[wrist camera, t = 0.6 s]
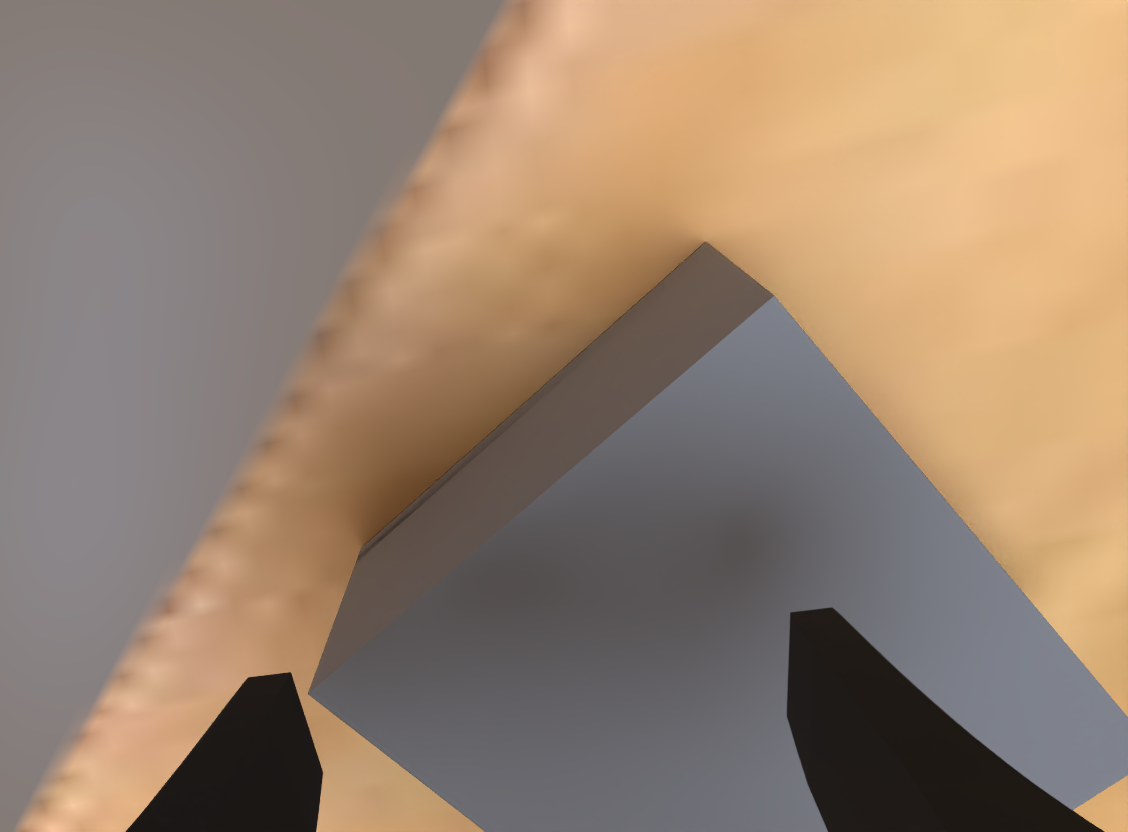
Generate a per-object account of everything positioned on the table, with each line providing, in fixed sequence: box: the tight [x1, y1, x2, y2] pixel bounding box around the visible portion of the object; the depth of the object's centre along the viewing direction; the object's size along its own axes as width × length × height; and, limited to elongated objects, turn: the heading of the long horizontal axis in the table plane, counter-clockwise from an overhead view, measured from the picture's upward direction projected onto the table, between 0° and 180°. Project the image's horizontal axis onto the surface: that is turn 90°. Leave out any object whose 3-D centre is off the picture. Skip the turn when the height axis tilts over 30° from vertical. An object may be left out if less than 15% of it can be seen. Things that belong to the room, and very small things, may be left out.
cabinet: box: [308, 242, 1128, 832], centre depth 21 cm, size 12×14×6 cm
